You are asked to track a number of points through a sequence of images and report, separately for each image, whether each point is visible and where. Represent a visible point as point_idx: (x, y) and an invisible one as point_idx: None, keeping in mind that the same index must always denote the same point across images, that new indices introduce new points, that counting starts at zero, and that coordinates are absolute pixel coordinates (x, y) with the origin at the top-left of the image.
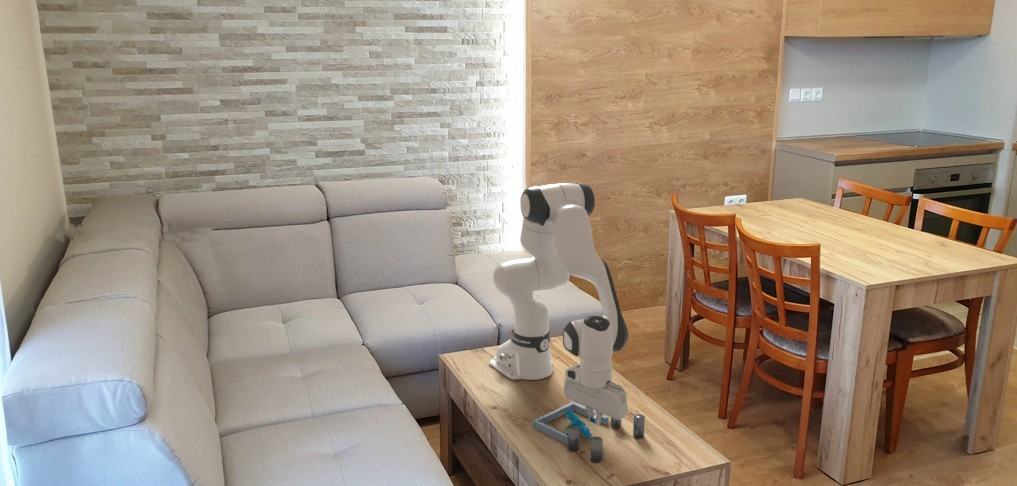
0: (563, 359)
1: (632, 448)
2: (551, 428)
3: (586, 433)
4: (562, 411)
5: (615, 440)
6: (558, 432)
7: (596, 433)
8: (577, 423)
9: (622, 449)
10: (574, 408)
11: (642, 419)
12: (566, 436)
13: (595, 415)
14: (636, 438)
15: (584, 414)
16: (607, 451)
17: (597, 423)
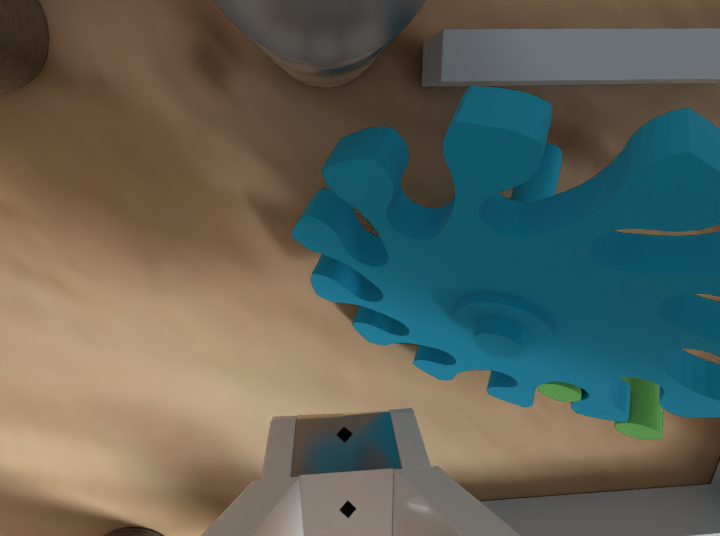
0: None
1: (7, 427)
2: None
3: (319, 246)
4: None
5: (190, 417)
6: (617, 46)
7: (371, 386)
8: (473, 242)
9: (36, 363)
10: (713, 499)
11: None
12: (480, 43)
13: (365, 534)
14: (115, 531)
15: (609, 496)
16: (76, 247)
17: (270, 436)
